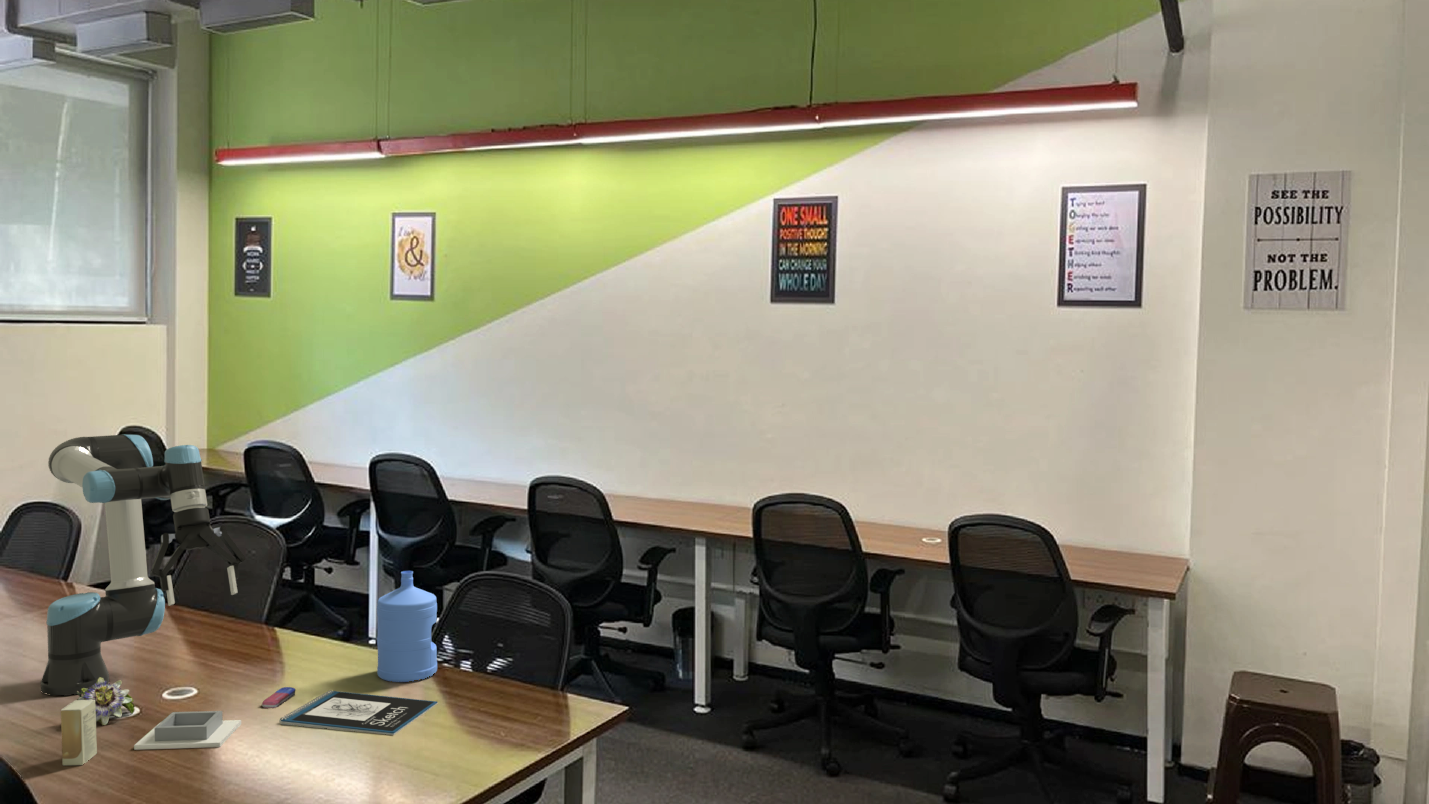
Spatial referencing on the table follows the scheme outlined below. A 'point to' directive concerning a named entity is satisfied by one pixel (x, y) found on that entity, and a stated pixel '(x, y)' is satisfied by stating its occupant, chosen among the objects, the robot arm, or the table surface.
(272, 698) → the eraser
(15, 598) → the table surface
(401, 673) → the water jug
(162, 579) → the robot arm
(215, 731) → the socket board
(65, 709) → the skincare box
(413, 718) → the sketchbook
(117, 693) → the passion flower
